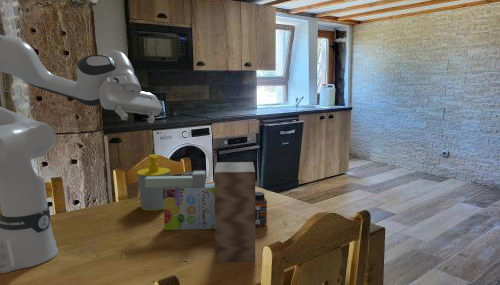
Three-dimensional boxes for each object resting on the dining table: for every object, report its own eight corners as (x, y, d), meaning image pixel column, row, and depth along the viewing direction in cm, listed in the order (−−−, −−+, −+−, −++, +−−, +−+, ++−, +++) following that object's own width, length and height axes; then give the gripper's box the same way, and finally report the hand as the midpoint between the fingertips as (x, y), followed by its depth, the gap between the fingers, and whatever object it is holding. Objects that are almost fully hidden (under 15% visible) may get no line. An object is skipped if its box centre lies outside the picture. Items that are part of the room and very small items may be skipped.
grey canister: (143, 213, 138) (140, 159, 135) (135, 203, 150) (132, 154, 146) (176, 207, 145) (174, 156, 141) (166, 198, 156) (164, 151, 152)
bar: (144, 188, 120) (143, 175, 119) (148, 184, 125) (147, 171, 124) (204, 187, 121) (204, 174, 120) (205, 183, 126) (205, 170, 125)
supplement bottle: (261, 228, 124) (261, 197, 122) (246, 225, 127) (246, 194, 125) (269, 222, 129) (270, 192, 127) (255, 219, 132) (255, 189, 130)
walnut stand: (216, 262, 100) (214, 172, 96) (217, 243, 112) (216, 162, 108) (255, 261, 101) (255, 171, 97) (253, 242, 113) (252, 162, 108)
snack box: (226, 223, 129) (226, 182, 126) (226, 229, 123) (225, 187, 120) (167, 224, 128) (165, 183, 125) (164, 230, 122) (162, 188, 120)
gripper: (149, 100, 129) (162, 129, 123) (93, 90, 114) (104, 123, 108) (158, 87, 126) (171, 117, 120) (101, 76, 111) (112, 109, 105)
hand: (138, 120), depth 114 cm, fingers open, 8 cm apart
